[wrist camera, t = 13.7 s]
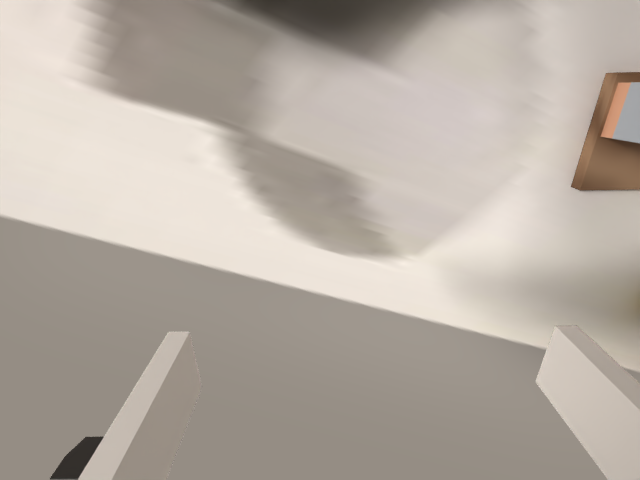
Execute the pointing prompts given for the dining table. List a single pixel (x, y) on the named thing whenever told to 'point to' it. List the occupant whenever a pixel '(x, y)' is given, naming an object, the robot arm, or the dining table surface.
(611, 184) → the pin board
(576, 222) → the dining table surface
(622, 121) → the sleeve
